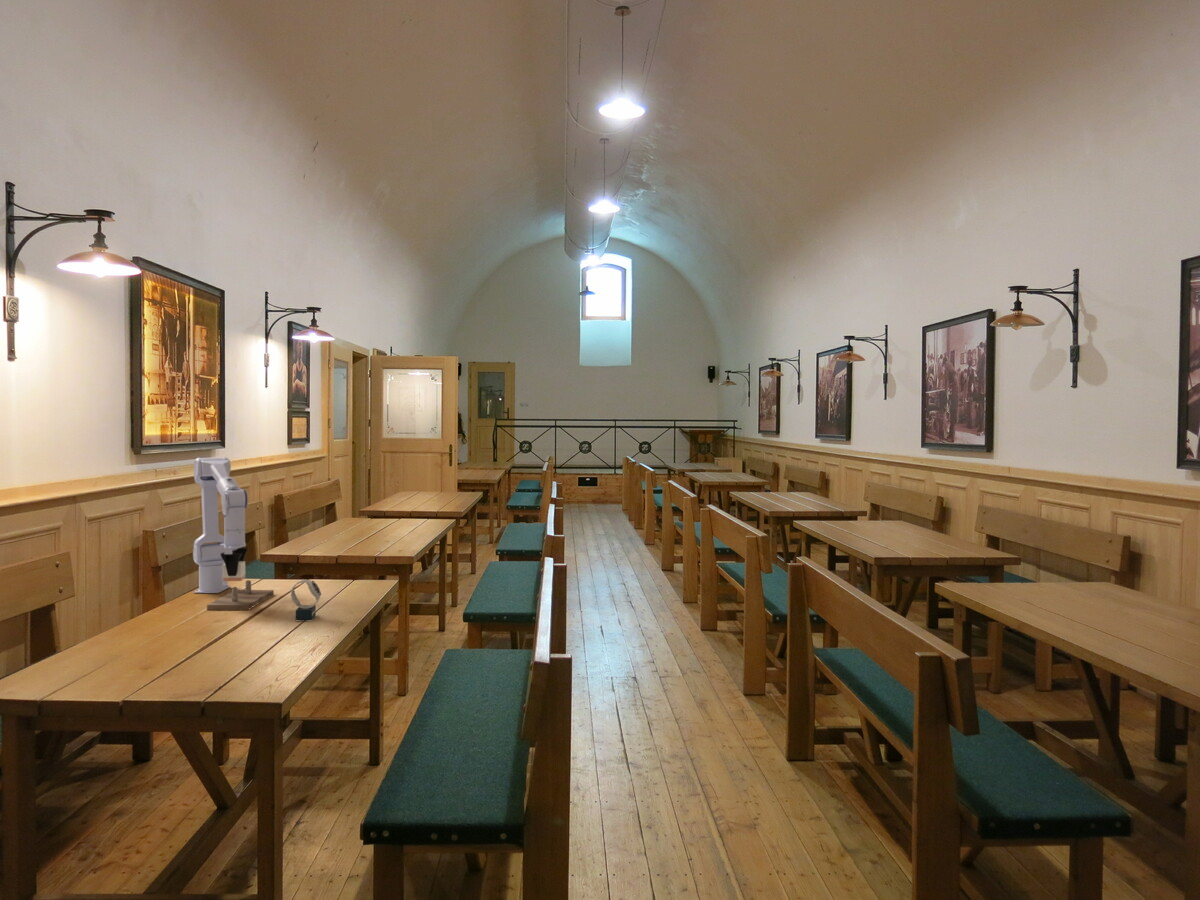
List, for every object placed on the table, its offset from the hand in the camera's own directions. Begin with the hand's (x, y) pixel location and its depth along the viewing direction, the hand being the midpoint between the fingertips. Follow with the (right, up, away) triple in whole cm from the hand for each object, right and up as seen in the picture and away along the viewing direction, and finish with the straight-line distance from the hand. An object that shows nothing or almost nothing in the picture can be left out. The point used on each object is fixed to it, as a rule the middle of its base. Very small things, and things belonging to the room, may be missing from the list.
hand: (234, 573), depth 235 cm
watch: (+26, -11, -12) cm, 31 cm away
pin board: (0, -10, +5) cm, 11 cm away
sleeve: (0, -2, 0) cm, 2 cm away
